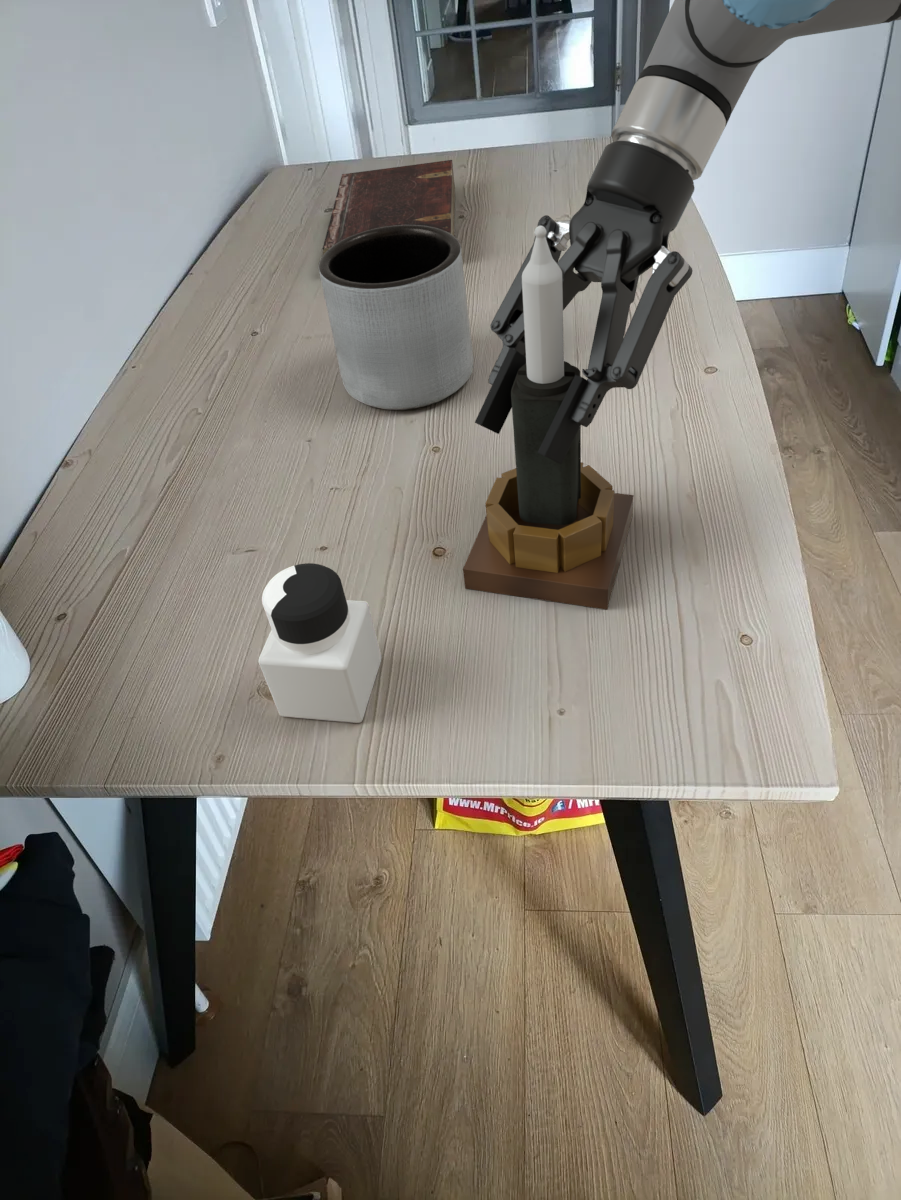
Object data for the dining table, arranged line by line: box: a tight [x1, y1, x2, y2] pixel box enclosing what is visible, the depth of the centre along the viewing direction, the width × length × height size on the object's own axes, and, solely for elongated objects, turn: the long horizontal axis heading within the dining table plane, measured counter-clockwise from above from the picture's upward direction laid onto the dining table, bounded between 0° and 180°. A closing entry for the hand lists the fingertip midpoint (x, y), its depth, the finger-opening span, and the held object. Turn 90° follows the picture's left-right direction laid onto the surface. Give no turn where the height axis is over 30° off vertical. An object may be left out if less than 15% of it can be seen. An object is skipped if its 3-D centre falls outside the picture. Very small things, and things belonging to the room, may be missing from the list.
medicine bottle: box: [257, 562, 382, 724], centre depth 69 cm, size 7×7×12 cm
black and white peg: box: [511, 225, 582, 525], centre depth 70 cm, size 5×5×25 cm
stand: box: [462, 461, 635, 610], centre depth 80 cm, size 13×13×6 cm
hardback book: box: [321, 159, 456, 257], centre depth 136 cm, size 29×19×5 cm, turn 179°
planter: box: [318, 225, 474, 411], centre depth 101 cm, size 16×16×16 cm
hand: (517, 442), depth 71 cm, fingers closed on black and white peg, 6 cm apart
